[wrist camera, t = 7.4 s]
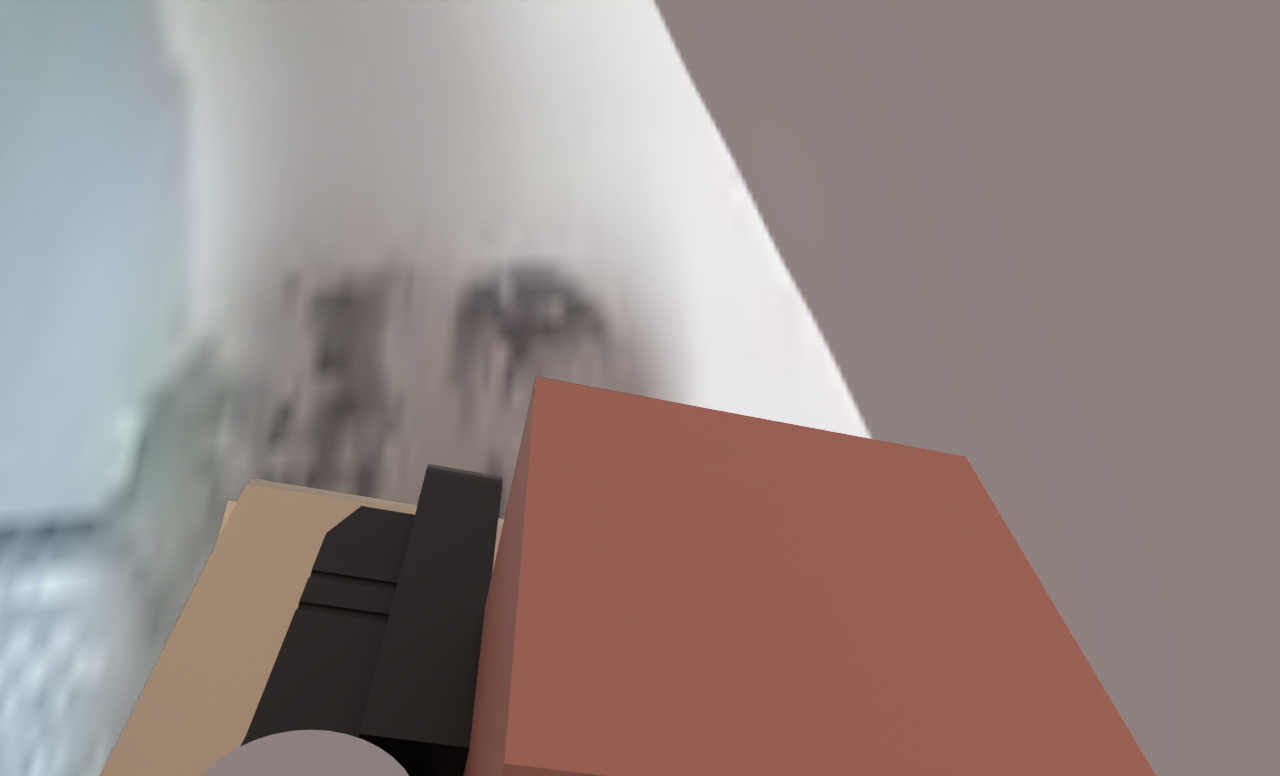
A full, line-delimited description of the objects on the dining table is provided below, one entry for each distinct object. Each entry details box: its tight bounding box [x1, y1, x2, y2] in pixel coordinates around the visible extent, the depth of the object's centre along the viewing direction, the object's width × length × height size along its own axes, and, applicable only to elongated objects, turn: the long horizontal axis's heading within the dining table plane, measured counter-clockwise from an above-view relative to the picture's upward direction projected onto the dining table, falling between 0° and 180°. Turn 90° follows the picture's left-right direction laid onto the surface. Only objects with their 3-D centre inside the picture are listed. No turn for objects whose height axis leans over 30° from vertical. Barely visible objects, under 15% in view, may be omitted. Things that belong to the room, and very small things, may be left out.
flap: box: [100, 377, 1156, 776], centre depth 13 cm, size 15×12×11 cm
